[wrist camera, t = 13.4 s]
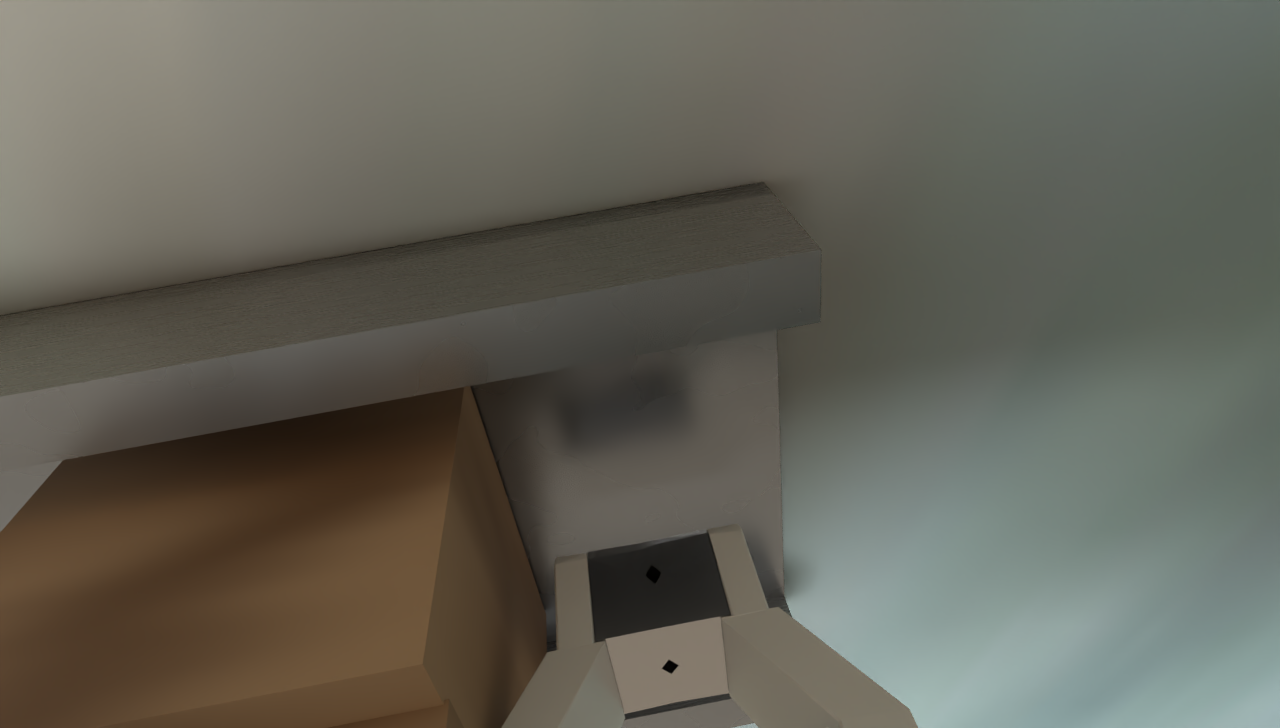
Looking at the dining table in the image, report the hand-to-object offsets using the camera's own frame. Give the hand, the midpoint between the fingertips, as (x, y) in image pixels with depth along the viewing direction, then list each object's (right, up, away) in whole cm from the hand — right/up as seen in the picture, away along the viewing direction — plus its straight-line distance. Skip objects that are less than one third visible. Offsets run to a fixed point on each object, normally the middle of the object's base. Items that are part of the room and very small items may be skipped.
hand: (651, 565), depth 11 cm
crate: (-5, 0, +1) cm, 6 cm away
